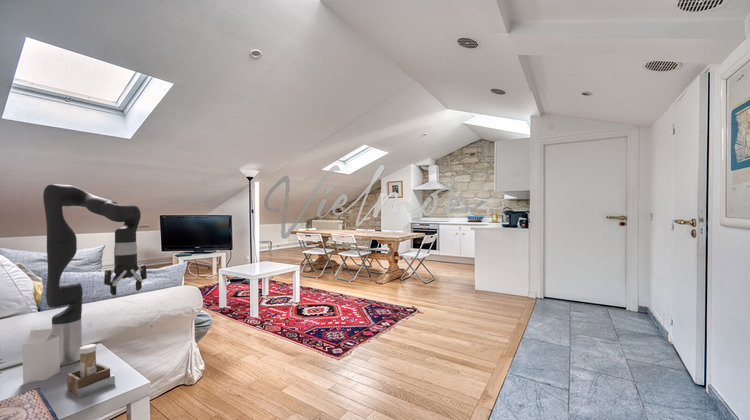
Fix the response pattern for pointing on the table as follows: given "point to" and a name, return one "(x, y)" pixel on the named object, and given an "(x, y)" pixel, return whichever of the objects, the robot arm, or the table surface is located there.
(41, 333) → the milk carton
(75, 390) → the block
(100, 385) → the rail
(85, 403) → the table surface
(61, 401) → the table surface
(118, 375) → the table surface
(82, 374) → the sprinkles bottle
